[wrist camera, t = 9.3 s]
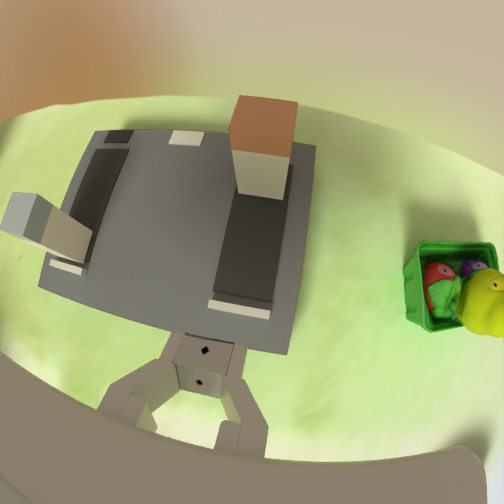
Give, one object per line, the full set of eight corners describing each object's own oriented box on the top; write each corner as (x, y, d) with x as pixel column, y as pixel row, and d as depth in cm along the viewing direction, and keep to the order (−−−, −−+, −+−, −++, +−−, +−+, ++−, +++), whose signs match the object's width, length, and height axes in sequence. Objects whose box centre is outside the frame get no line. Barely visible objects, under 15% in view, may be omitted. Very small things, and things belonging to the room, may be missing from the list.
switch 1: (57, 256, 21) (-1, 229, 13) (66, 226, 22) (12, 191, 14) (83, 263, 21) (22, 235, 13) (92, 231, 22) (37, 193, 14)
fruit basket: (467, 254, 24) (534, 221, 14) (474, 330, 22) (547, 322, 11) (390, 256, 25) (458, 212, 14) (395, 346, 22) (473, 352, 12)
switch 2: (238, 193, 22) (228, 129, 14) (245, 162, 23) (239, 95, 15) (282, 200, 22) (292, 137, 14) (287, 169, 22) (297, 102, 15)
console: (61, 292, 25) (32, 285, 20) (109, 149, 29) (92, 127, 24) (282, 350, 23) (288, 356, 18) (309, 168, 27) (317, 140, 23)
